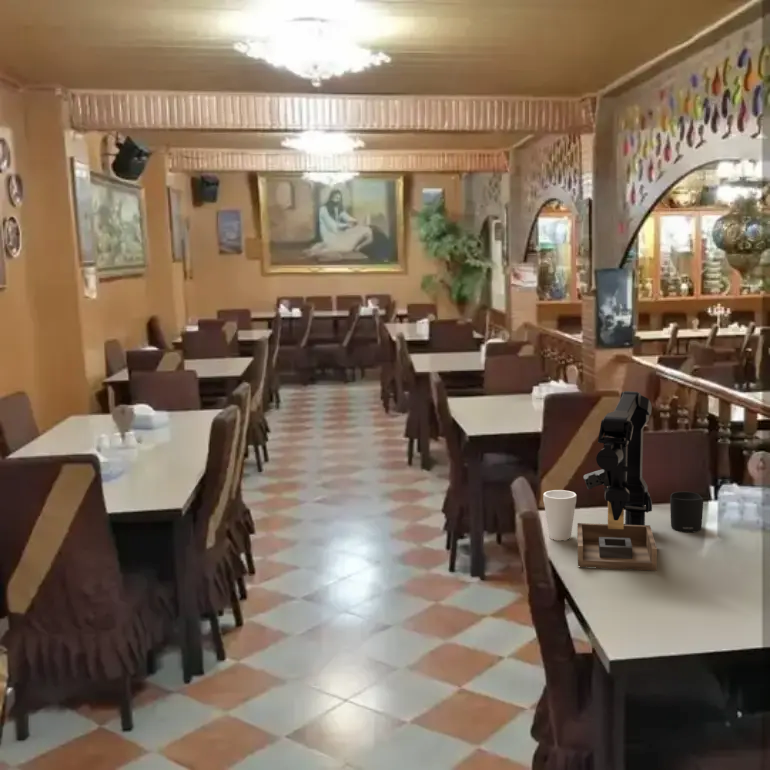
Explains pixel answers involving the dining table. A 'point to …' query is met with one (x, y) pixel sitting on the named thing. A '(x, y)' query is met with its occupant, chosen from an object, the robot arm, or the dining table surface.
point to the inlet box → (616, 547)
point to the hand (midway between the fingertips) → (615, 517)
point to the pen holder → (686, 511)
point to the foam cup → (559, 513)
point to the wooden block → (615, 523)
